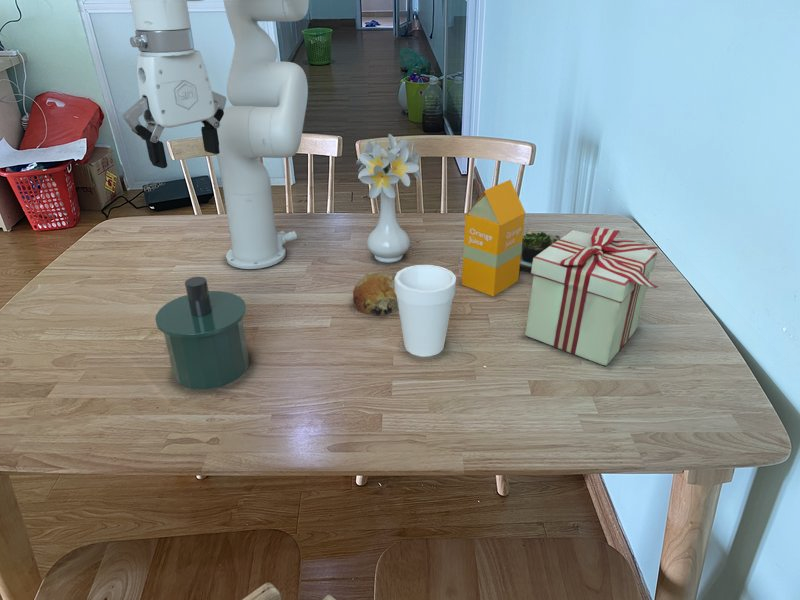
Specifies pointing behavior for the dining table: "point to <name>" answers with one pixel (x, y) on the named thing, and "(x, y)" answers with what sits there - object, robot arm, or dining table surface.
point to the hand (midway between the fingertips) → (187, 159)
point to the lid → (200, 311)
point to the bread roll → (376, 294)
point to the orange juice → (493, 240)
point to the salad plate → (534, 247)
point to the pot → (209, 358)
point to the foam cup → (424, 307)
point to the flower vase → (387, 195)
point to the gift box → (589, 293)
